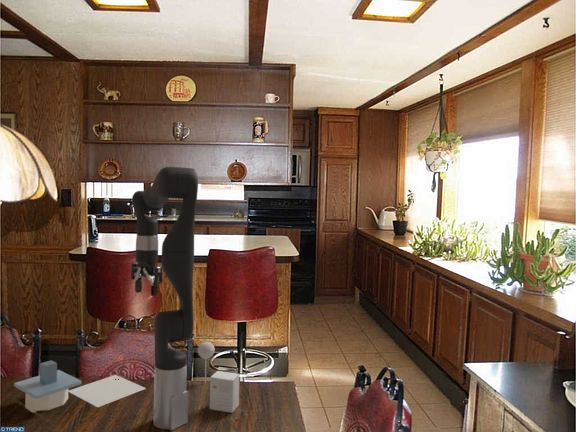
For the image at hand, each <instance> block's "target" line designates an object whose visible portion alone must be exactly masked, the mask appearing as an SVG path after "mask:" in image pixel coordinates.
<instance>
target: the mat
mask: <svg viewBox="0 0 576 432" xmlns="http://www.w3.org/2000/svg"><path fill="white" fill-rule="evenodd" d="M115 379H116V380H115ZM118 379H119V380H118ZM143 390H144V391H145V390H147V388H146V387H144V386H141V385H140V384H138V383H135V382H133V381H131V380H128V379H126V378H124V377H123V376H122V377H121V376H119V375H117V374H113V375H111V376H108V377H105V378H102V379H99V380H96V381H93V382H90V383H87V384H85V385H80V386H78V387H75V388H73V389H68V393H70V394H71V395H74V396H75V397H78V398H79V399H81V400H82V401H85V402H86V403H89V404H91V406H94V407H96V408H100V407H103V406H105V405H107V404H110V403H113V402H115V401H118V400H121V399H124V398H125V397H128V396H131V395H133V394H136V393H138V392H141V391H143Z"/></svg>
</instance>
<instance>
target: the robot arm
mask: <svg viewBox="0 0 576 432" xmlns="http://www.w3.org/2000/svg"><path fill="white" fill-rule="evenodd" d="M198 190H199V177H198V172H197V171H196V170H195V169H194V168H191V167H178V166H166V167H162V169H160V170H159V171H158V173H157V175H156V177H155V178H154V180H153V182H152V185H151V186H149V187H148V188H147V189H146V190H137V191H135V192H134V193H133V195H132V197H131V202H132V207H133V211H134V214H135V218H136V239H135V262H132V263H131V268H130V269H131V273H130V279H131V280H133V282H134V285H135V286H134V290H135V293H138V294H139V293H142V290H143V287H142V286H143V281H142V280H143V279H144V278H146V279H147V281H149V283H150V296H151V297H156V296H158V289H159V287H158V285H161V284H163V273H164V274H165V276H166V277H167V279H168V282H170V283H171V286H173V287H172V288H174V290H175V293H176V295H177V296H178V300H179V309H172V310H163V311H159V312H157V313H156V314H155V316H154V322H153V323H154V324H153V326H154V327H153V329H154V330H153V331H154V332H153V333H154V378H153V379H154V381H153V382H154V383H153V385H154V386H153V419H152V421H153V426H154V427H156V428H158V429H161V430H170V431H174V430H176V429H177V428H180V427H181V426H184V425H185V424H187V423H188V422H189V420H188V419H189V391H188V389H187V373H188V372H187V370H188V369H187V367H188V355H187V354H186V352H184V351H182V350H180V349H179V350H178V349H175V348H171V347H169V344H171V343H179V342H184V341H185V342H186V341H188V340H191V339H192V336H193V334H194V326H195V325H194V321H195V320H194V301H193V282H194V265H195V263H194V262H195V224H196V223H195V221H196V220H195V219H196V211H197V200H198V192H199V191H198ZM169 200H182V205H181V210H180V213H179V215H178V218H177V219H176V221H175V222H174V224H173V225H172V227H171V228H170V230H169V231H168V232H167V233H166V236H165V238H164V240H162V241H163V242H162V245H161V265H160V266H157V265H156V263H157V262H159V237H158V235H159V233H158V232H159V221H158V219H156V218H153V217H148V216H146V215H145V213H144V212H159V211H162V210H163V207H164V205H165V204H166V203H167V202H168V201H169Z"/></svg>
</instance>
